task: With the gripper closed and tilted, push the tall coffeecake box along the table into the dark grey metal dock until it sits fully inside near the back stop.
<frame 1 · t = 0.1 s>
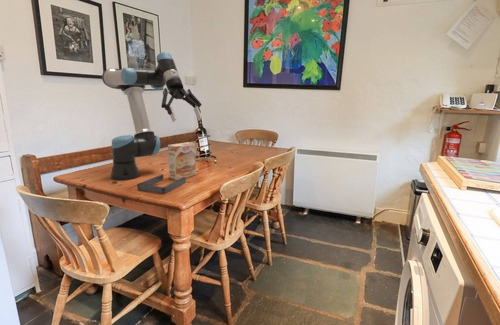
hand: (187, 119, 132), 36 cm above the table, tool tilted 35°, fingers open, 13 cm apart
dock: (162, 186, 150), on the table
coffeecake box: (182, 176, 168), on the table
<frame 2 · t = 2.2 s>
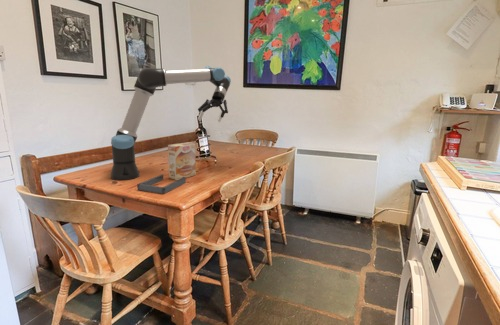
hand: (208, 120, 175), 32 cm above the table, tool tilted 45°, fingers open, 13 cm apart
nothing on the table moved.
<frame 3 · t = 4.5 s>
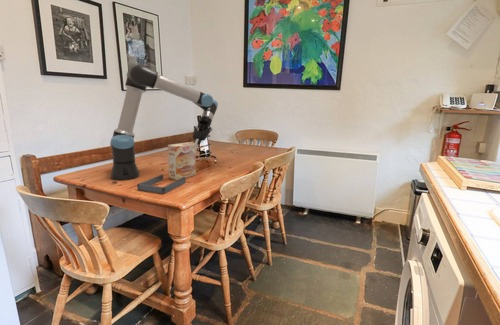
hand: (194, 148, 178), 15 cm above the table, tool tilted 45°, fingers closed
nothing on the table moved.
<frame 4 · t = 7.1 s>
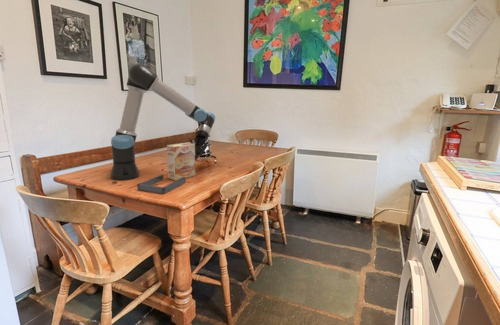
hand: (191, 164, 174), 6 cm above the table, tool tilted 45°, fingers closed
coffeecake box: (182, 177, 167), on the table, touching gripper
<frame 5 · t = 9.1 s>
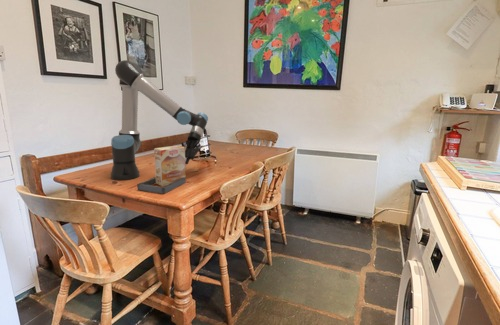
hand: (182, 168, 162), 6 cm above the table, tool tilted 45°, fingers closed
coffeecake box: (171, 182, 157), on the table, touching gripper
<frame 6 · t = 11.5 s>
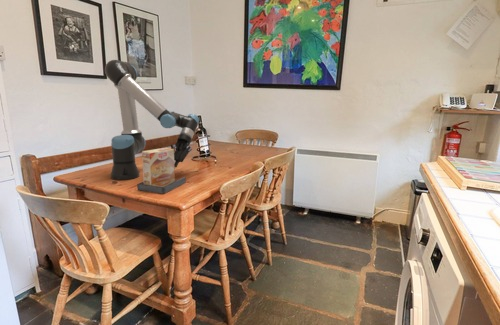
hand: (170, 171, 155), 6 cm above the table, tool tilted 45°, fingers closed
coffeecake box: (159, 186, 149), on the table, touching dock, gripper
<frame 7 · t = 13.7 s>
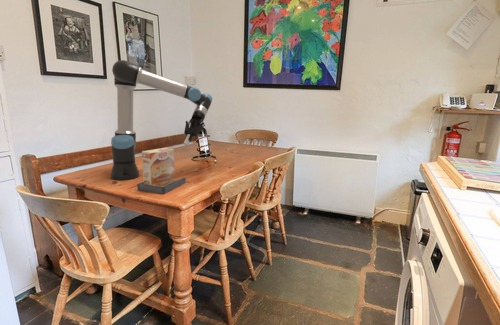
hand: (185, 144, 167), 19 cm above the table, tool tilted 45°, fingers closed
coffeecake box: (159, 186, 149), on the table
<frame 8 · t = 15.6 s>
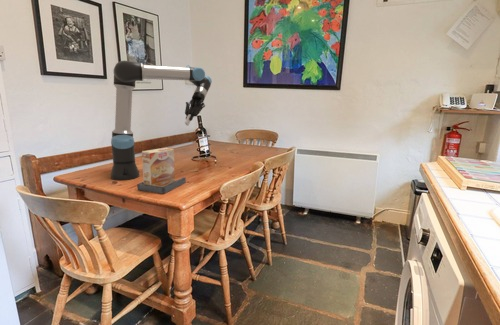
hand: (186, 124, 170), 30 cm above the table, tool tilted 45°, fingers closed
nothing on the table moved.
at the end: coffeecake box 1.1 cm off-centre on the dock, point 0.0 cm above the dock's base; coffeecake box tilted 0° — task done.
